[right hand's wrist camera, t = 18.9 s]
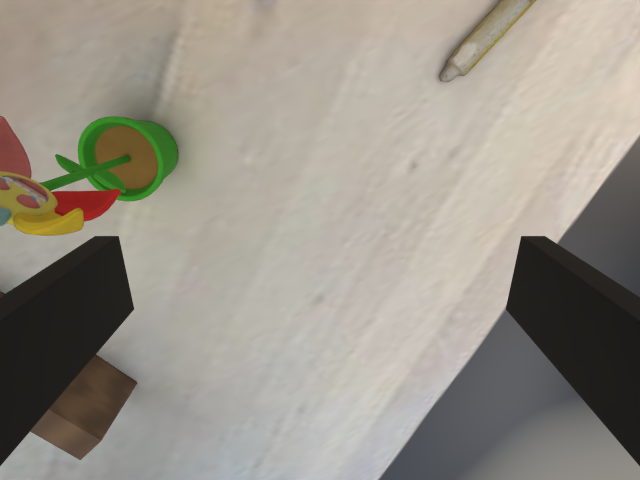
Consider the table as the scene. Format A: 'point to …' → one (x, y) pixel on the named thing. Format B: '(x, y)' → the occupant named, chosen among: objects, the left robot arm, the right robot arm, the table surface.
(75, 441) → the bar
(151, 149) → the potted flower
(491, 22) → the syringe
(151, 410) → the table surface
